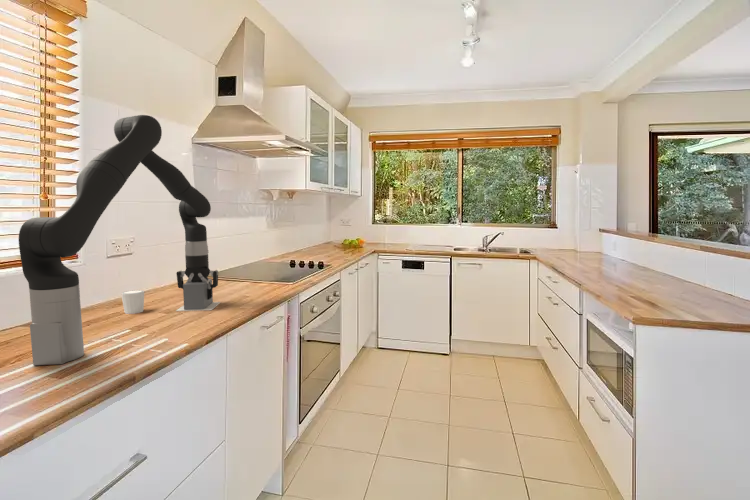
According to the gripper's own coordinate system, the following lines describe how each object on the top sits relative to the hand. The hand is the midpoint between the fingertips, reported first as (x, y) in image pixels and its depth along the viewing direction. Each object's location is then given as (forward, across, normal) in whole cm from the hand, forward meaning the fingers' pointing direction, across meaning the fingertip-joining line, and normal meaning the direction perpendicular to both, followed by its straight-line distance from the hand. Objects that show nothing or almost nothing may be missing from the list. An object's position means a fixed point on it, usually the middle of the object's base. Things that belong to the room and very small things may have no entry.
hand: (198, 299), depth 149 cm
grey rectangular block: (+2, 0, 0) cm, 2 cm away
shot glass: (+3, -20, -5) cm, 21 cm away
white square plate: (+3, 0, 0) cm, 3 cm away
